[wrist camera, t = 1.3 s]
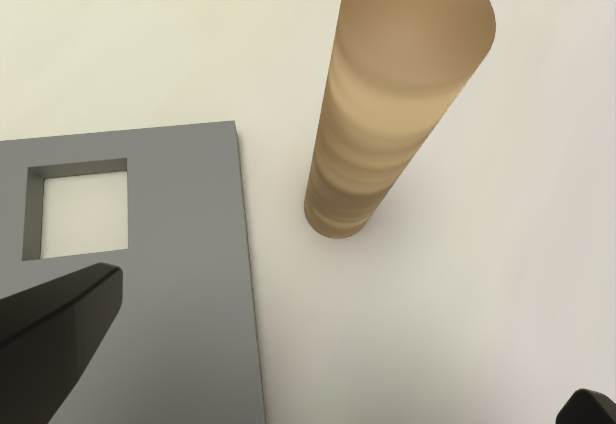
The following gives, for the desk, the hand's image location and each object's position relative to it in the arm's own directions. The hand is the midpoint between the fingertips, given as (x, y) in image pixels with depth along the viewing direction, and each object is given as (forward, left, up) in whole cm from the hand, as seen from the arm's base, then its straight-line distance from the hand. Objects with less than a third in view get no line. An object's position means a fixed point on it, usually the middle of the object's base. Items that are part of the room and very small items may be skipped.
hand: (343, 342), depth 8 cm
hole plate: (+4, +9, -13) cm, 16 cm away
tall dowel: (+7, -3, -13) cm, 15 cm away
